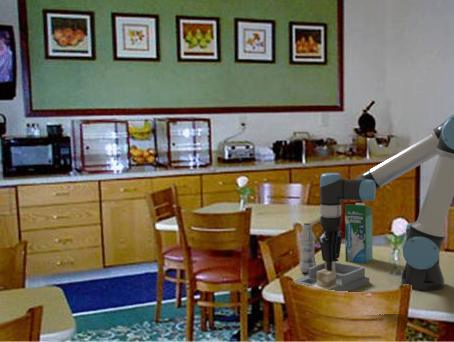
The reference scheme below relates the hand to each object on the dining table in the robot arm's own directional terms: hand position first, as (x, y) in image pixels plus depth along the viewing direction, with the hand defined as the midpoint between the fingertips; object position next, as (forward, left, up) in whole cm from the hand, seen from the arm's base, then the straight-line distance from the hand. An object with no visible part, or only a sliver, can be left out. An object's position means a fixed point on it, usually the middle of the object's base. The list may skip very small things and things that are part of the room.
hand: (331, 278), depth 214 cm
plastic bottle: (+19, -11, -4) cm, 22 cm away
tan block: (+7, -9, -2) cm, 11 cm away
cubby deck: (+3, -3, -4) cm, 6 cm away
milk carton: (+14, -41, -4) cm, 43 cm away
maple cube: (0, +3, -2) cm, 4 cm away
